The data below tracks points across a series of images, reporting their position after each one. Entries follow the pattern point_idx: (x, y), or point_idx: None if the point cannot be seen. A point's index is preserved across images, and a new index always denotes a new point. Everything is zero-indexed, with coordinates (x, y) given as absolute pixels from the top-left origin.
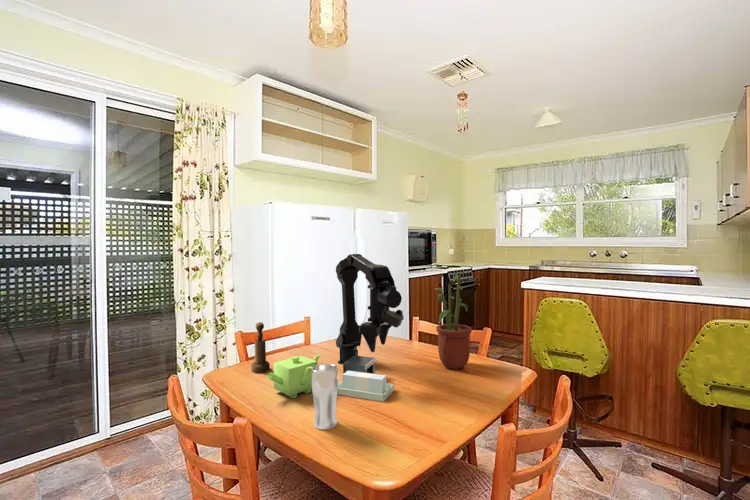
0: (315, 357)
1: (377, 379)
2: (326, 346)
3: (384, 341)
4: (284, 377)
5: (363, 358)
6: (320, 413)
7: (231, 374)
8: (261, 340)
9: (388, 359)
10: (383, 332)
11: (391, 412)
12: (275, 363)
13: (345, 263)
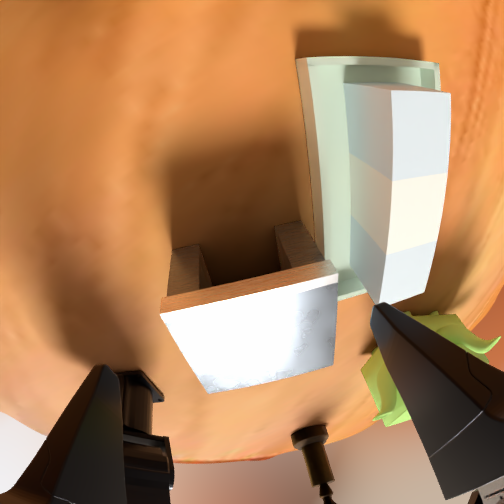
0: (394, 408)
1: (450, 119)
2: None
3: (97, 389)
4: None
5: (221, 353)
6: None
7: (344, 430)
8: (323, 484)
9: (4, 312)
10: (89, 485)
11: (464, 21)
12: None
13: None
